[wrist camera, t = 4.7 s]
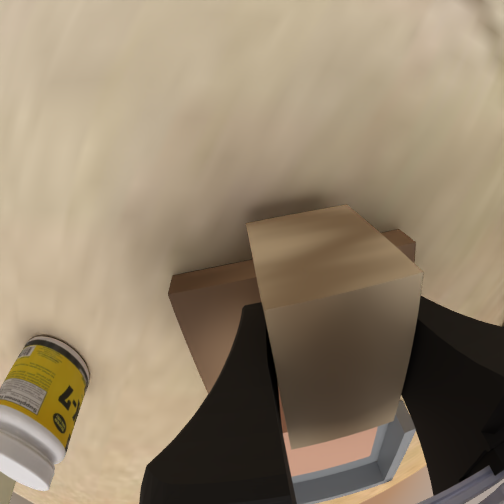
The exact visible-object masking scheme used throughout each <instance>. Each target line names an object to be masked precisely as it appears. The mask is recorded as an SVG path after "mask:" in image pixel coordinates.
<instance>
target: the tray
mask: <svg viewBox="0 0 504 504" xmlns="http://www.w3.org/2000/svg"><path fill="white" fill-rule="evenodd" d="M415 431H416V429H415V426H414V423H413V421H412V418H411V416H410V414H409V413H408V411H407V409H406V407H405V405H404V403H403V401H402V400H401V401H399V404H398V407H397V411H396V414H395V418H394V421H392V422H389V423H387V424H384V425H381V426H378V428H377V432H376V436H375V440H374V444H373V447H372V451H371V454H370V456H369V457H365V458H362V459H359V460H356V461H353V462H349V463H346V464H342V465H339V466H335V467H331V468H328V469H324V470H320V471H315V472H311V473H307V474H302V475H297V476H292V482H293V487H294V492H295V497H296V502H297V504H315V503H319V502H323V501H327V500H331V499H335V498H339V497H342V496H346V495H349V494H353V493H356V492H359V491H363V490H366V489H369V488H372V487H375V486H378V485H380V484H383V483H386V482H389V481H391V480H392V479H393V477H394V475H395V473H396V471H397V469H398V467H399V465H400V463H401V461H402V459H403V457H404V455H405V453H406V451H407V449H408V446H409V444H410V442H411V440H412V438H413V435H414V433H415Z"/></svg>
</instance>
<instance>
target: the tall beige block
mask: <svg viewBox="0 0 504 504" xmlns="http://www.w3.org/2000/svg"><path fill="white" fill-rule="evenodd" d="M246 227H247V232H248V237H249V242H250V247H251V252H252V258H253V263H254V268H255V273H256V278H257V283H258V288H259V293H260V298H261V302H262V306H263V311H264V316H265V320H266V325H267V330H268V336H269V341H270V346H271V351H272V356H273V361H274V366H275V371H276V376H277V382H278V388H279V393H280V397H281V402H282V407H283V412H284V417H285V422H286V426H287V431H288V436H289V441H290V446H291V450H293V449H297V448H302V447H307V446H311V445H315V444H319V443H323V442H327V441H331V440H335V439H339V438H342V437H346V436H349V435H353V434H356V433H359V432H362V431H366V430H369V429H372V428H375V427H378V426H381V425H384V424H387V423H389V422H392V421H394V418H395V414H396V411H397V407H398V404H399V400H400V396H401V393H402V389H403V385H404V381H405V377H406V373H407V368H408V364H409V359H410V355H411V350H412V345H413V340H414V334H415V329H416V323H417V317H418V311H419V304H420V297H421V289H422V281H423V271H422V270H421V269H420V268H419V267H418V266H417V265H415V264H414V263H413V262H412V261H411V260H410V259H409V258H408V257H407V256H406V255H405V254H404V253H402V252H401V251H400V250H399V249H398V248H397V247H396V246H395V245H394V244H392V243H391V242H390V241H389V240H388V239H387V238H386V237H384V236H383V235H382V234H381V233H380V232H379V231H378V230H376V229H375V228H374V227H373V226H372V225H371V224H369V223H368V222H367V221H366V220H365V219H364V218H362V217H361V216H360V215H359V214H358V213H356V212H355V211H354V210H353V209H352V208H350V207H349V206H348V205H347V204H346V205H341V206H335V207H329V208H324V209H318V210H313V211H307V212H302V213H297V214H291V215H286V216H281V217H276V218H270V219H265V220H260V221H255V222H250V223H246Z"/></svg>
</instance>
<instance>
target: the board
mask: <svg viewBox="0 0 504 504" xmlns="http://www.w3.org/2000/svg"><path fill="white" fill-rule="evenodd" d="M381 234H382V235H383V236H384V237H386V238H387V239H388V240H389V241H390V242H391V243H392V244H394V245H395V246H396V247H397V248H398V249H399V250H400V251H401V252H402V253H404V254H405V255H406V256H407V257H408V258H409V259H410V260H411V261H412V262H413V263H414V261H415V245H416V242H415V241H413V240H412V239H411V238H410V237H408V236H407V235H406V234H405V233H403V232H402V231H401V230H399V229H398V230H393V231H388V232H384V233H381ZM168 296H169V299H170V301H171V304H172V307H173V309H174V312H175V315H176V317H177V320H178V322H179V325H180V328H181V330H182V333H183V335H184V338H185V340H186V343H187V345H188V348H189V350H190V352H191V355H192V357H193V360H194V362H195V364H196V367H197V369H198V371H199V374H200V376H201V378H202V381H203V383H204V385H205V387H206V390H207V392H208V394H209V392H210V391H211V389H212V387H213V386H214V384H215V382H216V380H217V378H218V377H219V375H220V373H221V371H222V369H223V366H224V364H225V362H226V360H227V357H228V355H229V353H230V350H231V348H232V345H233V342H234V339H235V336H236V333H237V330H238V327H239V323H240V319H241V313H242V308H243V307H244V306H245V305H249V304H254V303H259V302H261V298H260V293H259V288H258V283H257V278H256V273H255V268H254V263H253V260H248V261H243V262H238V263H233V264H228V265H223V266H218V267H213V268H208V269H203V270H198V271H193V272H188V273H183V274H178V275H173V276H172V280H171V284H170V288H169V292H168Z"/></svg>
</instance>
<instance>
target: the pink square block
mask: <svg viewBox="0 0 504 504" xmlns="http://www.w3.org/2000/svg"><path fill="white" fill-rule="evenodd" d="M278 392H279V388H278ZM279 402H280V413H281V424H282V431H283V437H284V442H285V447H286V452H287V457H288V462H289V467H290V472H291V477H292V476H297V475H302V474H307V473H311V472H315V471H320V470H324V469H328V468H331V467H335V466H339V465H342V464H346V463H349V462H353V461H356V460H359V459H362V458H365V457H369V456H370V454H371V451H372V447H373V444H374V440H375V436H376V432H377V428H378V427H375V428H372V429H369V430H366V431H362V432H359V433H356V434H353V435H349V436H346V437H342V438H339V439H335V440H331V441H327V442H323V443H319V444H315V445H311V446H307V447H302V448H297V449H293V450H291V446H290V441H289V436H288V431H287V426H286V422H285V417H284V412H283V407H282V402H281V397H280V393H279Z"/></svg>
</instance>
